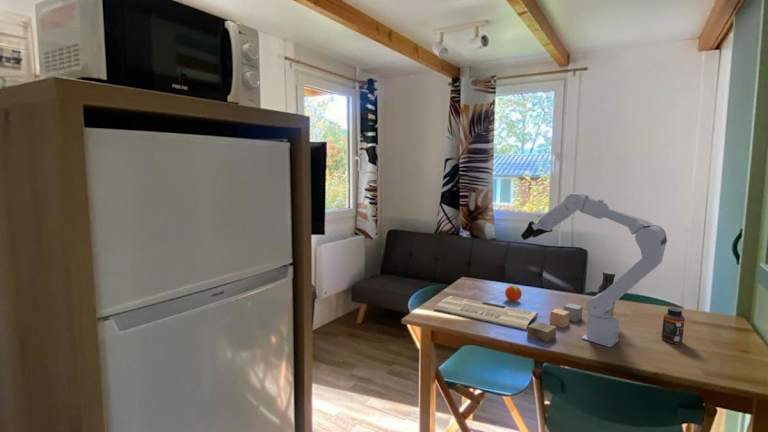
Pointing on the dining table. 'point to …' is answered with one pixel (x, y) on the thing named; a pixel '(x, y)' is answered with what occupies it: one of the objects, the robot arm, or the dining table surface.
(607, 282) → the sauce bottle
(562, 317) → the terracotta cube
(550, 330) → the walnut block
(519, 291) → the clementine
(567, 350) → the dining table surface
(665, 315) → the supplement bottle
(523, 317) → the newspaper
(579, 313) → the slate cube
